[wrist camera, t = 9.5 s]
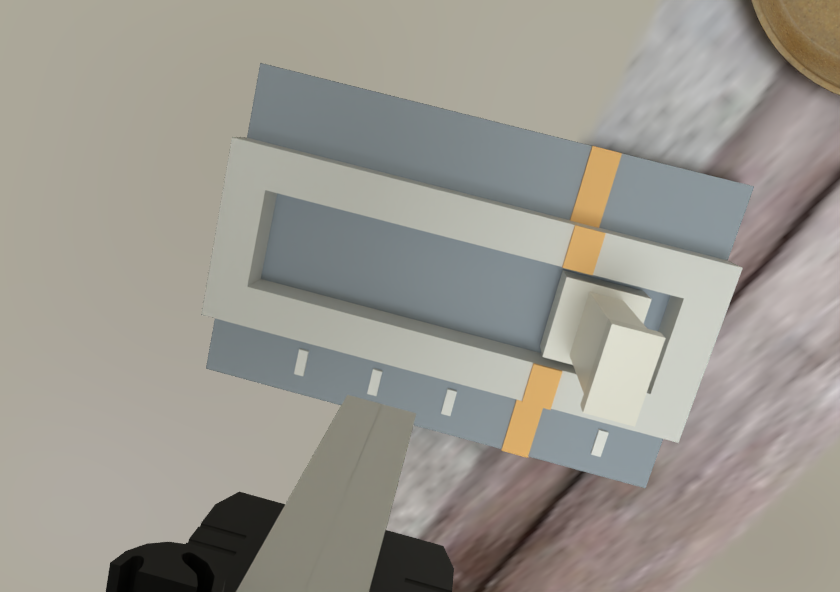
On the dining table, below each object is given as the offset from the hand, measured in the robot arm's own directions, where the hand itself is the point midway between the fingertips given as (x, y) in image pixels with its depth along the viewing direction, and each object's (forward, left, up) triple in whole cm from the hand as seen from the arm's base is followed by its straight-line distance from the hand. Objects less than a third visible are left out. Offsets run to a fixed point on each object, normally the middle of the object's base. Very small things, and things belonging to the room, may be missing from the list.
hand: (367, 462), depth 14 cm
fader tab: (0, -8, -20) cm, 21 cm away
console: (0, -1, -22) cm, 22 cm away
